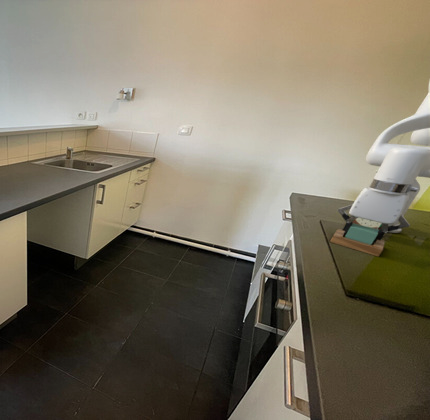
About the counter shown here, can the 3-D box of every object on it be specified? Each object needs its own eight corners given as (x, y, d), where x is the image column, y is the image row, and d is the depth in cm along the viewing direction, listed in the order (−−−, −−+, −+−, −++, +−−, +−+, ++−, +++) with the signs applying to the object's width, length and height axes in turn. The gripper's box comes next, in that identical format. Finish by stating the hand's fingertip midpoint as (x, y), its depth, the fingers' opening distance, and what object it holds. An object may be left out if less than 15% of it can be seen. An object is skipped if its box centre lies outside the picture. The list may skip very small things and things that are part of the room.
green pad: (347, 233, 88) (352, 223, 87) (372, 240, 84) (379, 229, 82) (344, 237, 85) (350, 226, 83) (371, 244, 80) (377, 234, 79)
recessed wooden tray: (334, 234, 92) (338, 228, 91) (380, 247, 84) (384, 241, 83) (329, 241, 86) (333, 235, 85) (378, 256, 78) (382, 249, 77)
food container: (395, 240, 90) (411, 215, 86) (375, 238, 91) (390, 213, 87) (363, 226, 101) (376, 204, 97) (346, 224, 102) (358, 202, 98)
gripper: (435, 192, 73) (400, 244, 80) (350, 179, 86) (326, 225, 93) (436, 196, 69) (399, 251, 76) (347, 181, 82) (322, 229, 88)
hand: (359, 236), depth 84 cm, fingers closed on green pad, 5 cm apart
